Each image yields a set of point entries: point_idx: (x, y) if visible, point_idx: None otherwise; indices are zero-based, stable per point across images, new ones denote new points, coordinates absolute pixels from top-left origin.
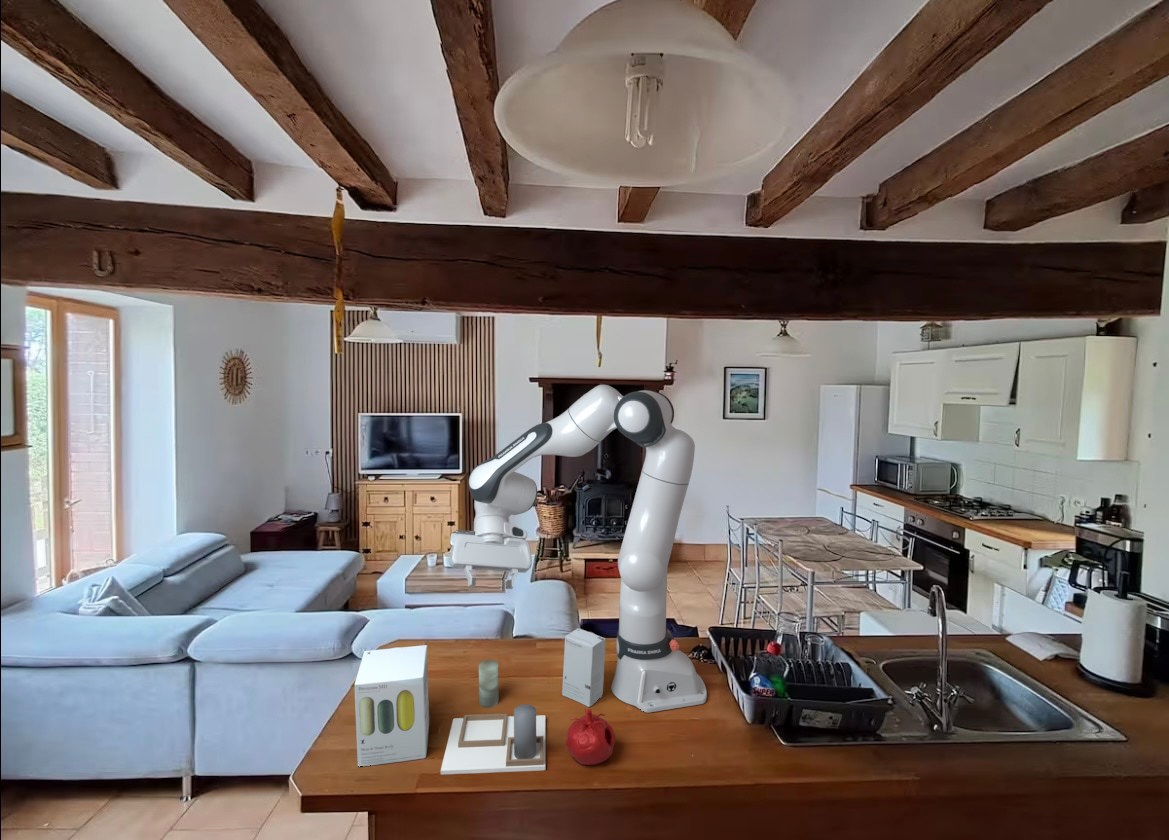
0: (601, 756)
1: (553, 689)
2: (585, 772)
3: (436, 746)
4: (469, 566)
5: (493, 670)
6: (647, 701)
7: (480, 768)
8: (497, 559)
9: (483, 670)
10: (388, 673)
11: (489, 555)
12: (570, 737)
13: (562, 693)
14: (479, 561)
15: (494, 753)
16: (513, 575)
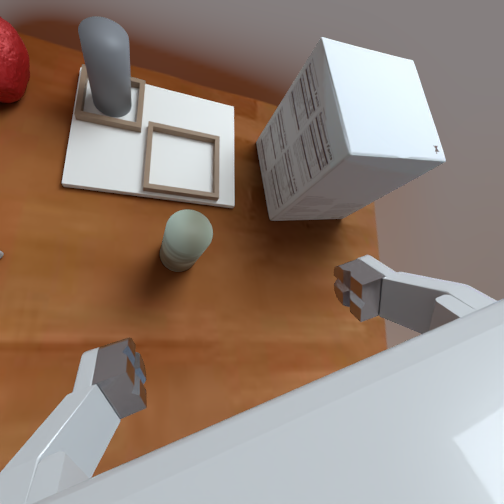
0: None
1: (24, 284)
2: None
3: (247, 161)
4: (475, 310)
5: (176, 213)
6: None
7: (182, 94)
8: (283, 495)
9: (199, 213)
10: (380, 69)
11: (433, 493)
12: (14, 30)
13: (1, 252)
14: (457, 349)
15: (163, 115)
16: (63, 442)
